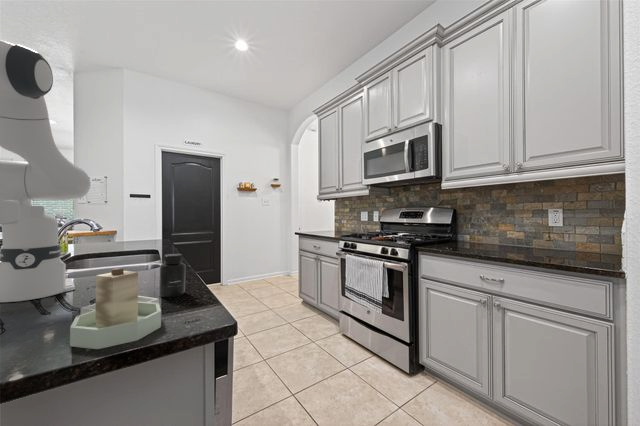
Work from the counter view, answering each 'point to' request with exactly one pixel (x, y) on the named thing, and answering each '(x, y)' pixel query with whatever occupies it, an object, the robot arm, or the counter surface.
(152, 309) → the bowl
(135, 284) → the birch canister
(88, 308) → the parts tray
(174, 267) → the supplement bottle
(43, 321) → the counter surface
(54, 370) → the counter surface
